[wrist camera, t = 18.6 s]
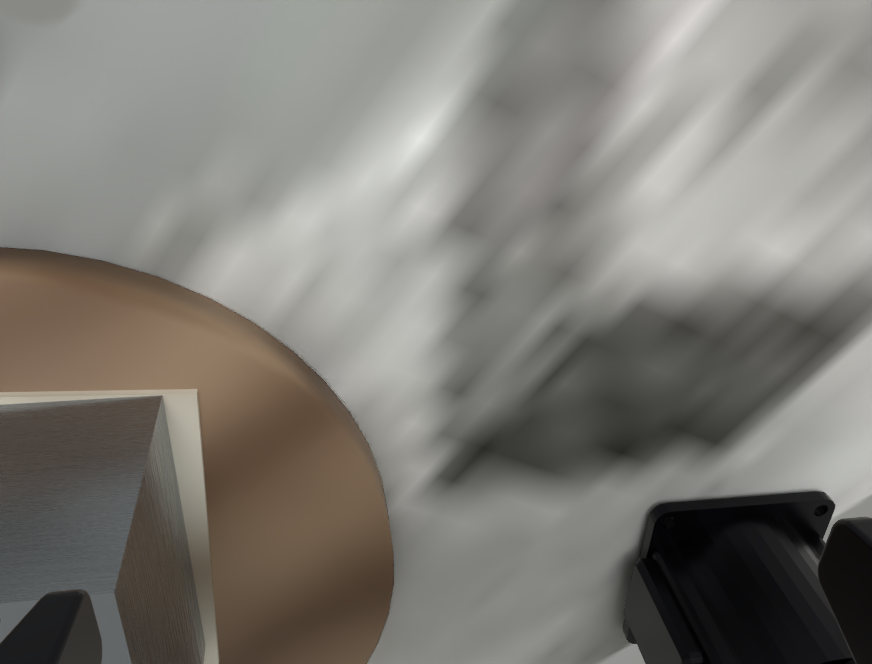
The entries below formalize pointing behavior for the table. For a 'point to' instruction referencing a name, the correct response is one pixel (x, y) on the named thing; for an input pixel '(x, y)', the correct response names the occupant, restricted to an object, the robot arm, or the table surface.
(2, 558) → the brushed steel bar
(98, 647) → the robot arm
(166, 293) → the dial
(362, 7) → the table surface
